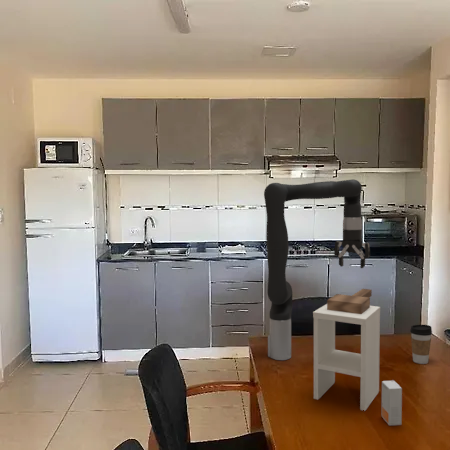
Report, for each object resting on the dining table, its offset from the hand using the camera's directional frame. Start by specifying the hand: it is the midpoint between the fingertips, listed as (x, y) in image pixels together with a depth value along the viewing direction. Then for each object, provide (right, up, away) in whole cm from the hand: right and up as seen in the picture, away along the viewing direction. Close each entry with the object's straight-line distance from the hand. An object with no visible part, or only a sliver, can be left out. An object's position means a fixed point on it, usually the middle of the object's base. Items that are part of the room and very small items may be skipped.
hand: (351, 267), depth 202 cm
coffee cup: (+29, -40, +2) cm, 49 cm away
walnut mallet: (-4, -11, -23) cm, 26 cm away
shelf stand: (-9, -43, -29) cm, 53 cm away
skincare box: (0, -45, -48) cm, 65 cm away
